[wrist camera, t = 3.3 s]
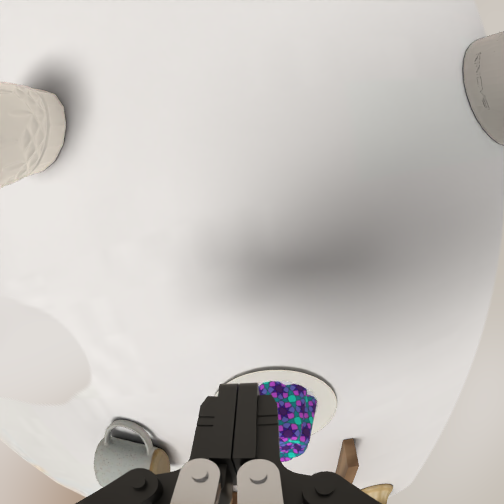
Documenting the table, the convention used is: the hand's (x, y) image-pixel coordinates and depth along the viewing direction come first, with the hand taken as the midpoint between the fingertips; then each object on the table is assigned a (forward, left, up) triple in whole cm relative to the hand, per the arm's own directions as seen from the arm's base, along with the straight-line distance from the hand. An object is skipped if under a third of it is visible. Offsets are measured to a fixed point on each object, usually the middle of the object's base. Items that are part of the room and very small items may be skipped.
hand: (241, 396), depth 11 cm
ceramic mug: (+17, +22, -11) cm, 30 cm away
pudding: (-1, +14, -11) cm, 18 cm away
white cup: (+16, -14, -11) cm, 23 cm away
